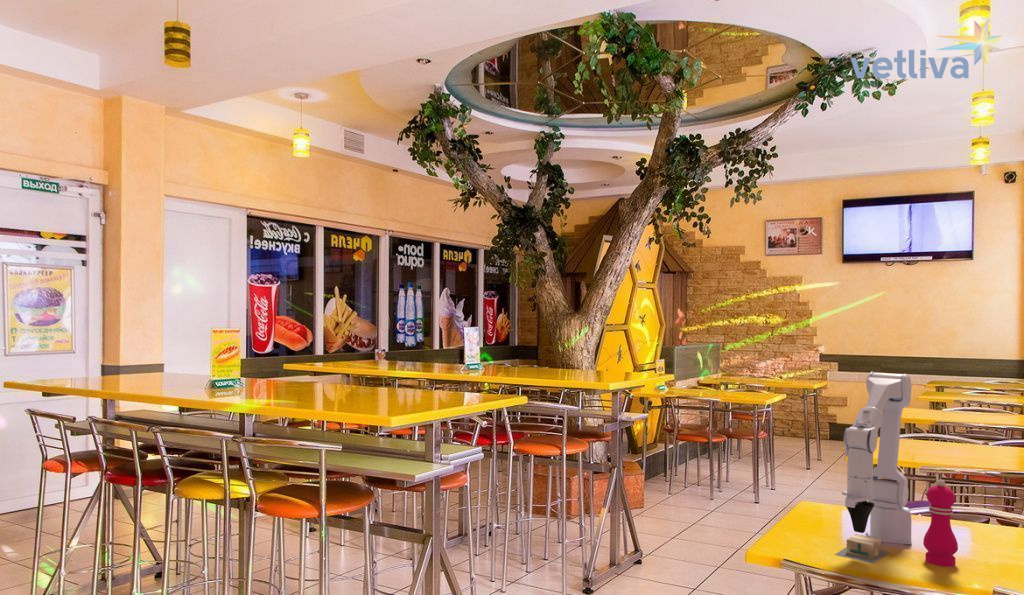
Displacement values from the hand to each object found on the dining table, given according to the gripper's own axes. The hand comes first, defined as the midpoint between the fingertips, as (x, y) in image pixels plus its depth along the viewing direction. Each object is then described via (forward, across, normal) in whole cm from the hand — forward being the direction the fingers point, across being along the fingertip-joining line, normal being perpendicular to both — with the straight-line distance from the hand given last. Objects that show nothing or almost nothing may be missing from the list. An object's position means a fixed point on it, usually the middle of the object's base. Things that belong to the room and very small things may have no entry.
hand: (859, 531), depth 180 cm
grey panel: (+6, -2, 0) cm, 6 cm away
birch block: (+4, 0, 0) cm, 4 cm away
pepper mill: (+6, -10, +16) cm, 19 cm away
